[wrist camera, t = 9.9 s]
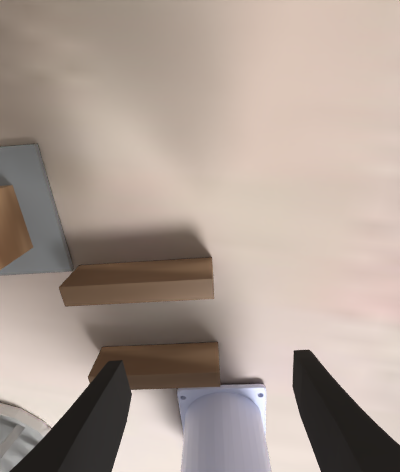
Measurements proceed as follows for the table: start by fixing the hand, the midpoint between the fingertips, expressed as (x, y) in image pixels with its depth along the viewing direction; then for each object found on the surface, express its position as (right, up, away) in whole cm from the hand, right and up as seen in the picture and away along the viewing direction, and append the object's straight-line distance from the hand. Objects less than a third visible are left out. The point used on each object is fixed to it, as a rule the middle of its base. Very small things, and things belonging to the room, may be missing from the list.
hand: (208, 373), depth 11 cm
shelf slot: (-4, 0, +10) cm, 11 cm away
